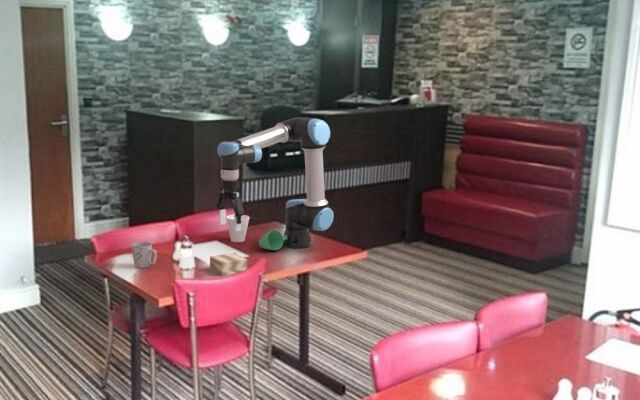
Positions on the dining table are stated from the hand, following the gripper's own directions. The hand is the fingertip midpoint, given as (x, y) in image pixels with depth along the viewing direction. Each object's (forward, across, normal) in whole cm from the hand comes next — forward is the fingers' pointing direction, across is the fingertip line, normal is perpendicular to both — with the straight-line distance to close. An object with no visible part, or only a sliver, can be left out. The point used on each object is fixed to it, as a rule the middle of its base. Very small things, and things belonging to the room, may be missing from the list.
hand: (230, 227), depth 296 cm
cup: (+20, -43, +27) cm, 55 cm away
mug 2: (+18, -26, +33) cm, 46 cm away
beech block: (+20, 0, -1) cm, 20 cm away
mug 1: (+19, -23, -30) cm, 42 cm away
